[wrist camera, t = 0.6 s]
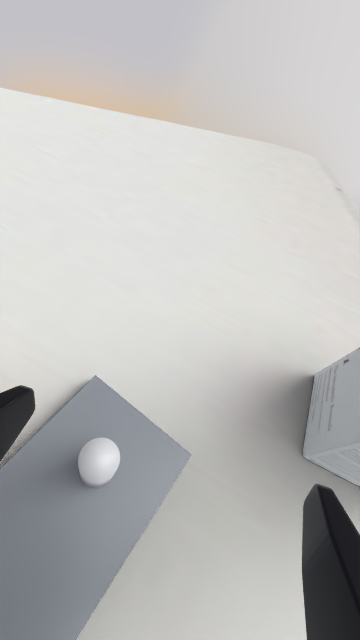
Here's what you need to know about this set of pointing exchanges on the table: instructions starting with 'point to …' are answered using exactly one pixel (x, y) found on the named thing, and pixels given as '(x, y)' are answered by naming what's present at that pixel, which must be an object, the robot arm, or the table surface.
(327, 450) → the supplement box
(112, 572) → the pin board
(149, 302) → the table surface
